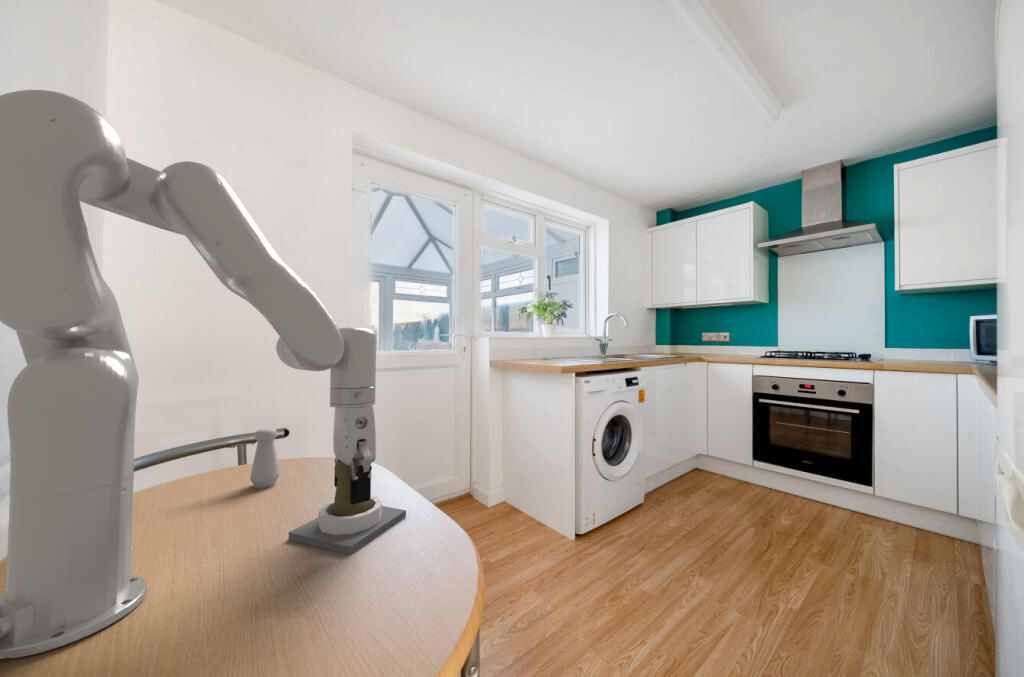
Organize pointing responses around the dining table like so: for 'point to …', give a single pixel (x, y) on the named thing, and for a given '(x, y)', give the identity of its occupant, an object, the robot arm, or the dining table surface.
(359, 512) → the cork
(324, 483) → the dining table surface
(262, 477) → the salt shaker
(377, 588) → the dining table surface
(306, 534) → the mat
